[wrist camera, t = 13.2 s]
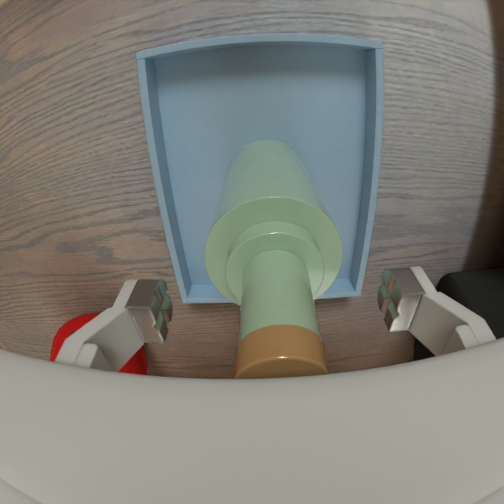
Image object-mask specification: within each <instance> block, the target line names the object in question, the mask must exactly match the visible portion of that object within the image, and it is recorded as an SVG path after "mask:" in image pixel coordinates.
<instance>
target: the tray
mask: <svg viewBox="0 0 504 504" xmlns="http://www.w3.org/2000/svg"><path fill="white" fill-rule="evenodd" d="M382 49H383V42H381V41H375V40H368V39H361V38H353V37H344V36H334V35H320V34H291V33H278V34H250V35H236V36H225V37H215V38H207V39H200V40H193V41H187V42H181V43H176V44H171V45H166V46H161V47H156V48H152V49H147V50H143V51H139V52H136V57H137V68H138V78H139V87H140V95H141V103H142V111H143V118H144V125H145V132H146V138H147V144H148V150H149V156H150V162H151V168H152V173H153V178H154V184H155V189H156V194H157V199H158V204H159V208H160V213H161V218H162V222H163V227H164V231H165V236H166V240H167V244H168V248H169V252H170V256H171V260H172V264H173V268H174V272H175V276H176V280H177V284H178V288H179V291H180V295H181V298H182V302H183V303H234V302H232V301H230V300H229V299H228V298H226V297H225V296H224V295H223V294H221V293H220V292H219V291H218V289H217V288H216V287H215V286H214V284H213V283H212V281H211V280H210V278H209V275H208V273H207V270H206V266H205V260H204V250H205V245H206V241H207V237H208V234H209V230H210V227H211V223H212V220H213V217H214V213H215V210H216V207H217V204H218V200H219V197H220V194H221V191H222V187H223V184H224V181H225V178H226V175H227V172H228V169H229V166H230V163H231V161H232V159H233V158H234V156H235V155H236V154H237V153H238V152H239V151H240V150H241V149H242V148H243V147H245V146H246V145H248V144H250V143H253V142H256V141H260V140H274V141H279V142H282V143H284V144H287V145H288V146H290V147H291V148H293V149H294V150H295V151H296V152H297V153H298V154H299V155H300V157H301V158H302V160H303V162H304V164H305V165H306V167H307V169H308V171H309V173H310V175H311V177H312V179H313V181H314V183H315V185H316V187H317V189H318V191H319V193H320V195H321V197H322V199H323V201H324V203H325V205H326V207H327V209H328V211H329V213H330V215H331V217H332V219H333V221H334V224H335V226H336V228H337V230H338V232H339V234H340V237H341V241H342V246H343V259H342V264H341V268H340V270H339V273H338V275H337V277H336V279H335V281H334V282H333V283H332V285H331V286H330V287H329V288H328V289H327V290H326V292H324V293H323V294H322V295H321V296H320V297H318V298H317V299H327V298H342V297H355V296H360V294H361V290H362V285H363V280H364V275H365V270H366V265H367V259H368V254H369V248H370V242H371V236H372V229H373V223H374V216H375V208H376V200H377V192H378V183H379V173H380V162H381V149H382V133H383V107H384V63H383V50H382Z"/></svg>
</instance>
